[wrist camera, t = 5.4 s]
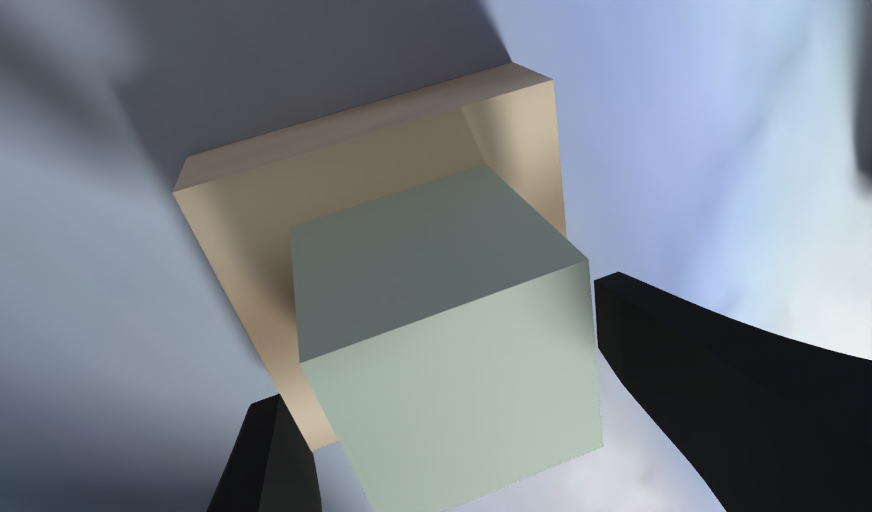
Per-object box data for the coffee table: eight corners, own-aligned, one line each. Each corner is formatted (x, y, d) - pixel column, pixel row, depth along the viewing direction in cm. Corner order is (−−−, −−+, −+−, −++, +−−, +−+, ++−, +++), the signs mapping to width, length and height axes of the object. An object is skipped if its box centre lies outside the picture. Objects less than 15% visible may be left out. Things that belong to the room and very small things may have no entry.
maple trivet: (537, 302, 20) (576, 353, 17) (304, 384, 19) (310, 451, 16) (505, 58, 15) (553, 79, 12) (189, 149, 14) (172, 192, 11)
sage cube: (513, 316, 16) (603, 446, 11) (353, 375, 15) (385, 535, 11) (485, 163, 13) (588, 259, 9) (289, 227, 12) (299, 363, 8)
